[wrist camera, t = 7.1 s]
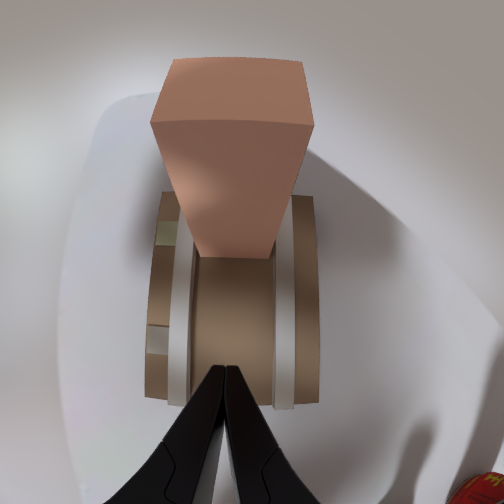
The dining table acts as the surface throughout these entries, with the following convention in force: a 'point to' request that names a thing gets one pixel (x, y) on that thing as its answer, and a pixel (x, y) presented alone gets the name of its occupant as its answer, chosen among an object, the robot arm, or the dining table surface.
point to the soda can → (480, 490)
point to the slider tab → (233, 147)
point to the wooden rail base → (234, 312)
